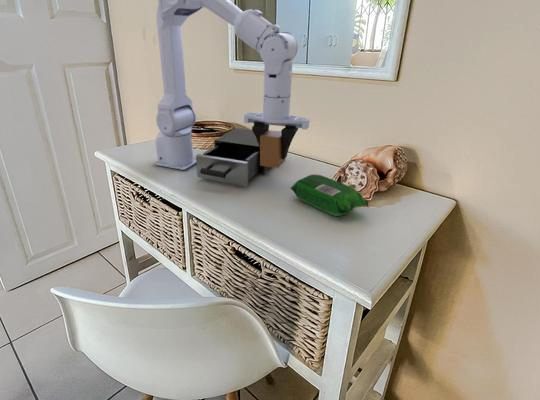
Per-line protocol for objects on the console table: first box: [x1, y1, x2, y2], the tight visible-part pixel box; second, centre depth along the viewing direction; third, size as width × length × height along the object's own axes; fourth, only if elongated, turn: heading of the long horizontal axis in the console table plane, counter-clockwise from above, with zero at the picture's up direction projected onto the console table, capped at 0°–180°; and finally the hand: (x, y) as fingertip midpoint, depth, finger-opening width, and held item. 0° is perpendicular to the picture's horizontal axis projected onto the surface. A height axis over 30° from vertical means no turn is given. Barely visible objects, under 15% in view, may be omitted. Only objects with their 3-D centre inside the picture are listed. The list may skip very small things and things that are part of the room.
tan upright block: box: [260, 130, 286, 169], centre depth 76 cm, size 4×5×7 cm
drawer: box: [195, 144, 262, 187], centre depth 81 cm, size 17×13×6 cm
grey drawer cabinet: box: [213, 127, 273, 176], centre depth 92 cm, size 13×14×7 cm
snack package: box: [290, 173, 370, 217], centre depth 69 cm, size 7×16×5 cm, turn 35°
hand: (273, 156), depth 77 cm, fingers closed on tan upright block, 4 cm apart
